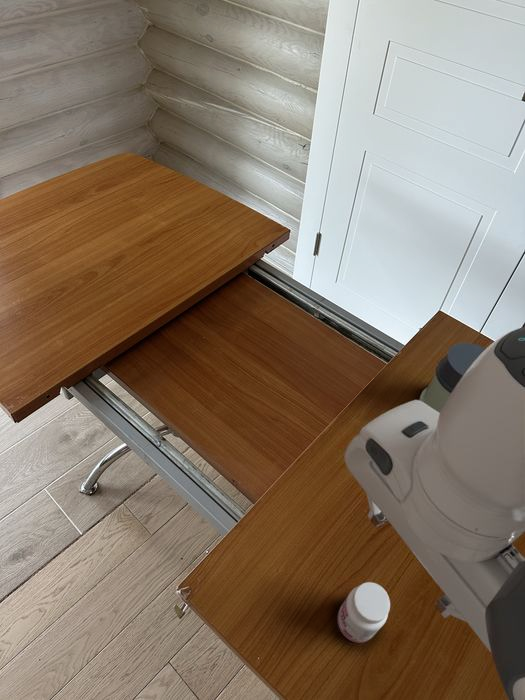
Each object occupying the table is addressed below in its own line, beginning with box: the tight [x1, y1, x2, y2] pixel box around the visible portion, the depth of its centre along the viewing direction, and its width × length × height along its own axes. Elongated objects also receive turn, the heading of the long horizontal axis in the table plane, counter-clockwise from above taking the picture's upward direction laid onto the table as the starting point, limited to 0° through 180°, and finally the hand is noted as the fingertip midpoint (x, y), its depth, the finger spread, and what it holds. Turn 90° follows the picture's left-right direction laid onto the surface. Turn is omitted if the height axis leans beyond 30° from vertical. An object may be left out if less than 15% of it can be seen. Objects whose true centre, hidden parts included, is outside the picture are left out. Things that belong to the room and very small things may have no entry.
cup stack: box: [418, 342, 486, 413], centre depth 81 cm, size 9×9×12 cm
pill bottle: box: [337, 581, 391, 643], centre depth 59 cm, size 5×5×8 cm
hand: (409, 560), depth 49 cm, fingers open, 8 cm apart
